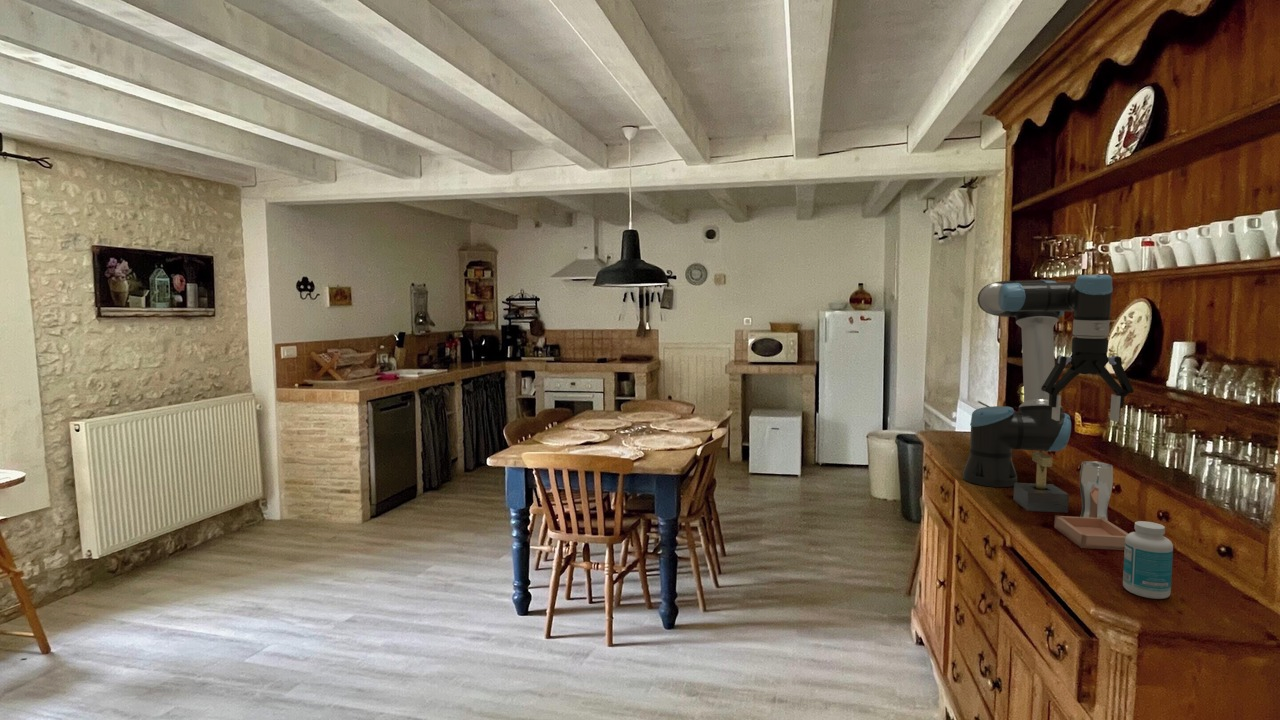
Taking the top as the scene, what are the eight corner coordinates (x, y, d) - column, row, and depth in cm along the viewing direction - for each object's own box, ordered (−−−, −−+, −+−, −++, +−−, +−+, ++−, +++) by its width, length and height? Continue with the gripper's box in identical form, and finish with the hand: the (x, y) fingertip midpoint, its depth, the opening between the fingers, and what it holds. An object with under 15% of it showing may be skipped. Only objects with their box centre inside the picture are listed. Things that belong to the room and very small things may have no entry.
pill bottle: (1179, 597, 126) (1184, 528, 125) (1153, 603, 124) (1158, 533, 122) (1138, 581, 133) (1142, 516, 132) (1113, 587, 131) (1117, 521, 129)
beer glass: (1115, 526, 165) (1119, 468, 164) (1084, 525, 166) (1088, 467, 165) (1102, 517, 172) (1105, 461, 171) (1072, 516, 173) (1075, 460, 172)
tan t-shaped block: (1029, 502, 186) (1032, 451, 184) (1039, 502, 185) (1041, 452, 184) (1040, 509, 179) (1042, 457, 177) (1049, 510, 178) (1052, 458, 177)
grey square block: (1013, 499, 188) (1014, 482, 187) (1051, 501, 186) (1052, 484, 186) (1027, 510, 178) (1028, 492, 177) (1067, 512, 176) (1068, 494, 176)
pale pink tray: (1054, 527, 165) (1054, 515, 165) (1103, 529, 163) (1103, 518, 163) (1081, 547, 151) (1081, 535, 151) (1134, 550, 149) (1135, 538, 149)
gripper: (1042, 338, 162) (1037, 422, 165) (1154, 338, 159) (1148, 424, 161) (1029, 335, 170) (1025, 416, 172) (1136, 335, 166) (1130, 418, 168)
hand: (1084, 420), depth 167 cm, fingers open, 13 cm apart
